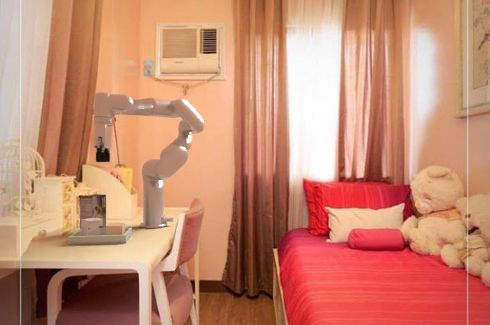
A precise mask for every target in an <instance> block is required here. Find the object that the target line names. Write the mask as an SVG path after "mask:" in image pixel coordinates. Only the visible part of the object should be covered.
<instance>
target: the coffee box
mask: <svg viewBox="0 0 490 325" xmlns="http://www.w3.org/2000/svg"><path fill="white" fill-rule="evenodd" d="M87 218H101V219H103V225H102V228H106V226H107V194H96V193H94V194H88V195H87V194H86V195H81V196H79V230H80V229H81V219H87Z"/></svg>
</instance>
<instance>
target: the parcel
mask: <svg viewBox="0 0 490 325" xmlns="http://www.w3.org/2000/svg"><path fill="white" fill-rule="evenodd" d="M125 228H126V223H125V222H115V223H114V222H111V223H110V222H109V223H107V224H106V235H124V234H125Z"/></svg>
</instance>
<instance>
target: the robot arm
mask: <svg viewBox="0 0 490 325" xmlns="http://www.w3.org/2000/svg"><path fill="white" fill-rule="evenodd" d="M114 114H116V115H125V116H126V115H127V116H142V117H156V118H157V117H159V118H167V119H168V118H171V119H177V118H180V119H181V120H180V121H179V122H178V128H177V129H178V134H177V137H175V139H174V140H173V141H172V142H171V143H170V144H168V145H167V146H165V147H164V148H163V149H162V151H161V152H160V155H159V158H160V159H157V158H156V159H148V160H146V162H144V163H143V165H142V166H141V167H142V168H141V176H142V183H143V188H142V189H143V190H142V191H143V193H142V194H143V198H142V200H143V202H142V203H143V204H142V205H143V206H142V211H143V212H142V215H143V216H142V217H143V218H142V222H140V223H139V228H142V229H157V228H164V227H167V225H168V223H173V222H174V217H166V216H165V185H164V183H165V182H164V181H165V180H168V179H170V178H171V177H172V176H174V175H175V174H176V172H178V171H179V170H180V169H181V168H182V167H184V166H185V165H186V163H187V161H188V159H189V150H190V149H191V148H192V146H193V143H194V142H193V141H194V139H193V138H194V135H195V134H200V133H202V132H203V131H204V129H205V127H206V124H205V120H204V119H203V118H202V116H201V115H200V114H199V113H198V111H197V110H196V109H195V108H194V107H193V106H192V104H190V103H189V102H188V100H186V99H183V98H178V99H174V100H173V99H172V100H171V99H162V98H154V97H148V98H140V99H133V98H132V97H131V96H129V95H127V94H121V93H119V94H118V93H117V94H115V93H108V92H100V91H99V92H95V93H94V95H93V125H94V131H93V148H94V149H95V162H96V163H110V162H111V153H110V152H111V150H110V149H111V144H112V141H111V140H112V135H111V131H112V130H111V127H113V126H114Z"/></svg>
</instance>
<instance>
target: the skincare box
mask: <svg viewBox="0 0 490 325" xmlns="http://www.w3.org/2000/svg"><path fill="white" fill-rule="evenodd" d="M102 225H103V219H101V218H87V219H81V236H99V235H102Z"/></svg>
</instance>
